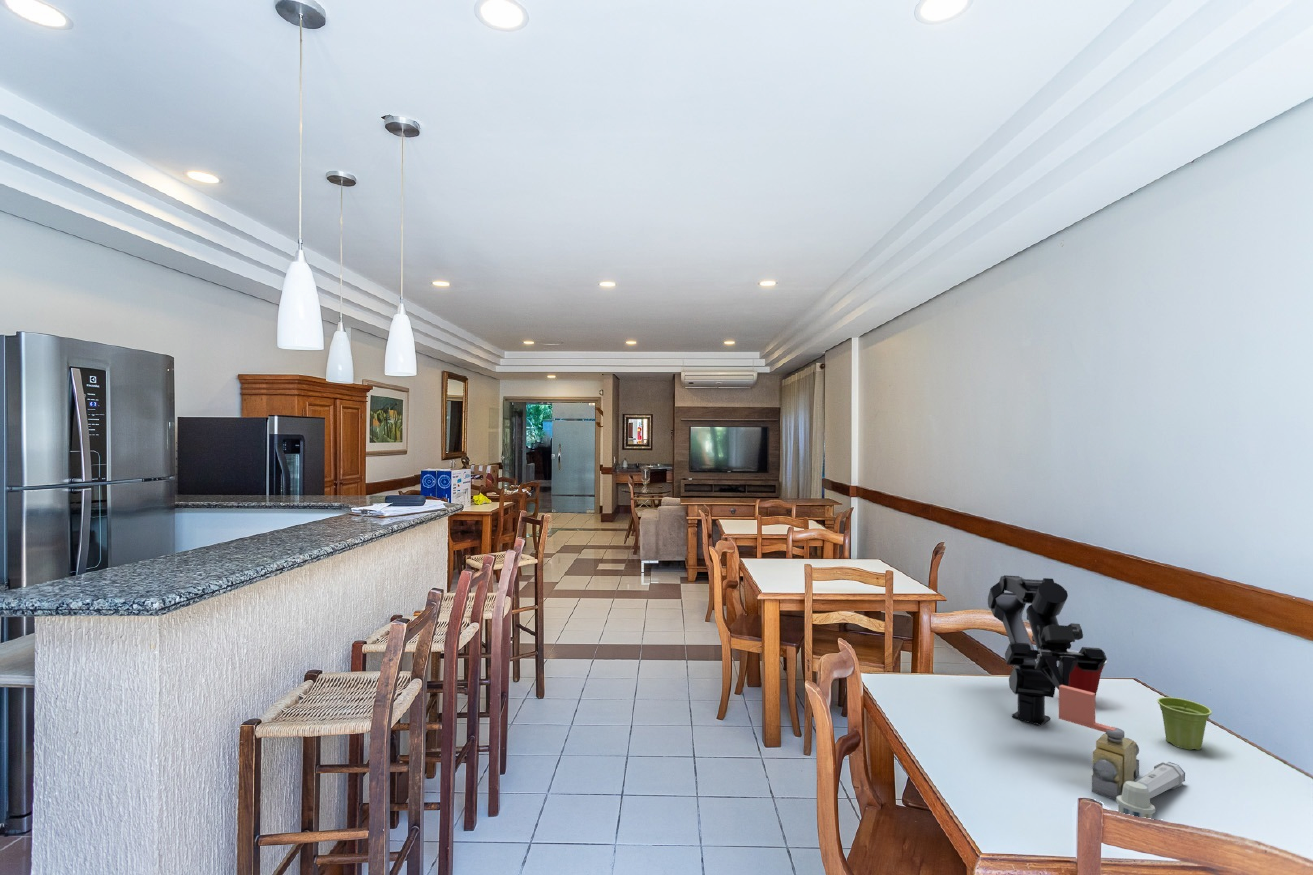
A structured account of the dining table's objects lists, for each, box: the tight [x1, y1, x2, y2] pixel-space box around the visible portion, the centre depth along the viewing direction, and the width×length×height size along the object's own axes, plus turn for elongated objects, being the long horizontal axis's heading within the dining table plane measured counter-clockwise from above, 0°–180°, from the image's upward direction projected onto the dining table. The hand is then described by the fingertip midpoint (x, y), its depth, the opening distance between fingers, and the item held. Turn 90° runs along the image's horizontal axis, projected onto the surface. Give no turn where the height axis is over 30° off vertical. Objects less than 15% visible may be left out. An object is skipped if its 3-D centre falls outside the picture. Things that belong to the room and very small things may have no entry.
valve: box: [1091, 732, 1140, 801], centre depth 126 cm, size 16×5×9 cm, turn 130°
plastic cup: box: [1067, 649, 1107, 699], centre depth 168 cm, size 11×11×12 cm
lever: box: [1058, 685, 1125, 739], centre depth 128 cm, size 11×3×7 cm, turn 40°
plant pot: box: [1156, 696, 1213, 751], centre depth 143 cm, size 9×9×9 cm
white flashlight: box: [1115, 761, 1186, 820], centre depth 119 cm, size 5×7×25 cm
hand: (1065, 693), depth 136 cm, fingers closed
